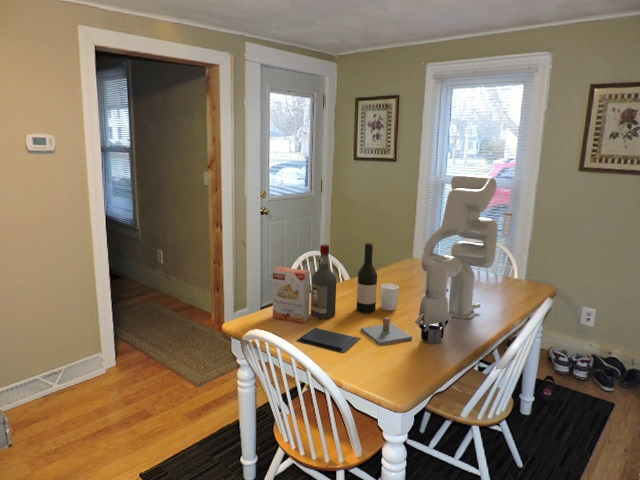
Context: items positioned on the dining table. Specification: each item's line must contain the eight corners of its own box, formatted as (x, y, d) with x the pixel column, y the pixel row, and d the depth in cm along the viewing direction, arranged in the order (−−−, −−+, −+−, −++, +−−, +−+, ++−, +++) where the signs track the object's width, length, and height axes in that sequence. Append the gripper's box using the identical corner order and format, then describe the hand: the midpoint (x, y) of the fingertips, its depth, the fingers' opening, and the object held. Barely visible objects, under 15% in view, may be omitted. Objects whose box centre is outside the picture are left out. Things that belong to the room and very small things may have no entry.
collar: (433, 335, 181) (434, 323, 180) (444, 342, 175) (445, 329, 174) (419, 337, 178) (420, 325, 177) (430, 344, 173) (431, 331, 172)
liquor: (323, 309, 205) (324, 242, 198) (338, 315, 199) (340, 246, 192) (307, 314, 199) (308, 245, 192) (322, 321, 192) (324, 249, 186)
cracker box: (272, 318, 194) (272, 269, 189) (278, 313, 199) (278, 265, 195) (303, 324, 189) (304, 273, 184) (309, 319, 194) (310, 269, 190)
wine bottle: (362, 314, 200) (366, 245, 194) (352, 308, 207) (355, 241, 201) (379, 311, 204) (382, 244, 198) (368, 305, 211) (371, 240, 205)
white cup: (397, 311, 205) (398, 289, 203) (379, 310, 206) (380, 288, 204) (398, 305, 212) (399, 284, 210) (380, 304, 214) (381, 282, 212)
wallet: (294, 337, 173) (315, 324, 186) (294, 342, 173) (315, 328, 186) (343, 350, 163) (362, 335, 176) (343, 356, 164) (362, 340, 177)
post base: (391, 325, 189) (392, 310, 188) (411, 339, 177) (412, 322, 175) (360, 330, 184) (361, 314, 182) (379, 345, 171) (380, 328, 170)
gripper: (448, 287, 180) (444, 331, 184) (409, 292, 173) (406, 338, 177) (461, 293, 173) (457, 339, 177) (422, 298, 166) (418, 346, 170)
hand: (432, 338), depth 177 cm, fingers closed on collar, 6 cm apart
